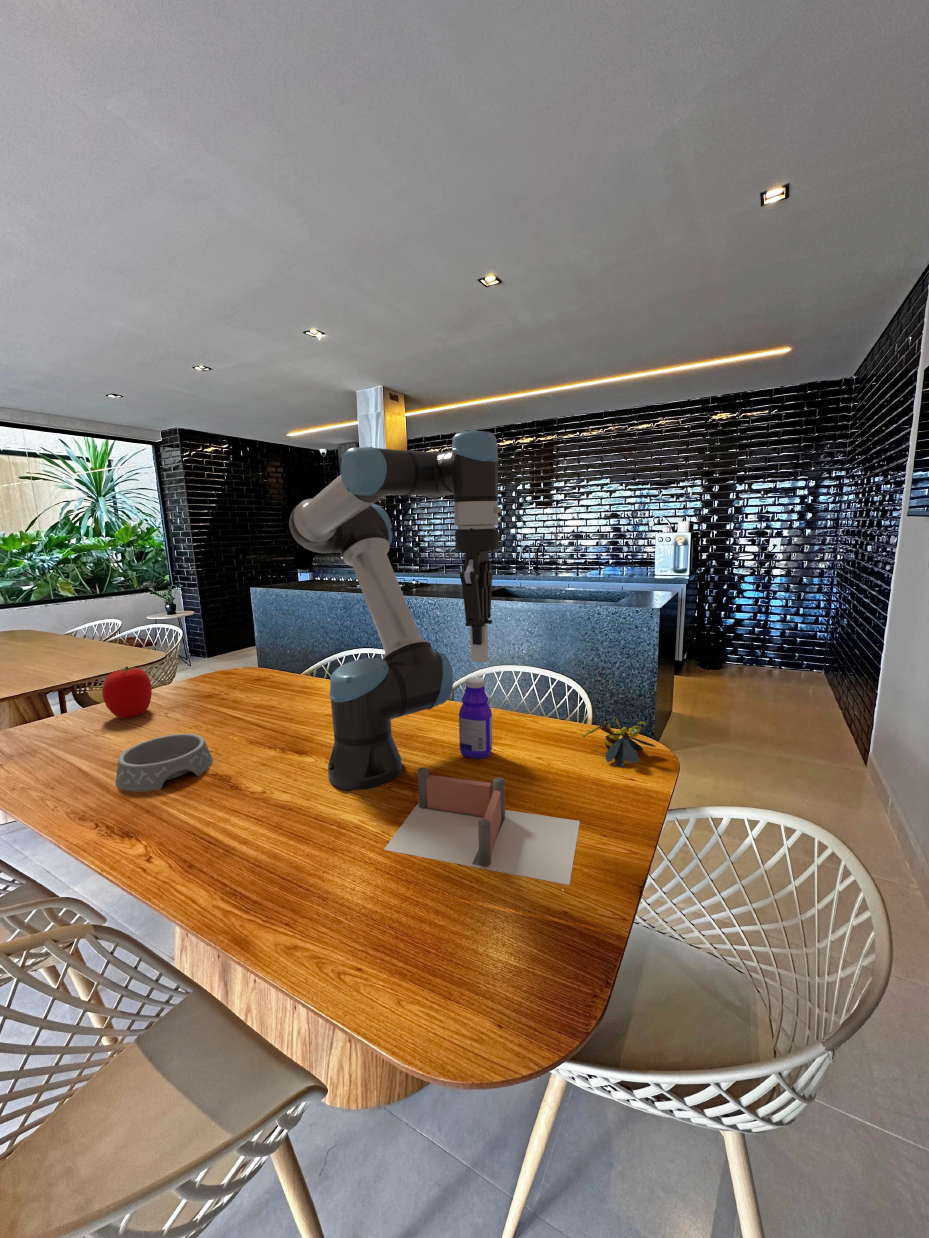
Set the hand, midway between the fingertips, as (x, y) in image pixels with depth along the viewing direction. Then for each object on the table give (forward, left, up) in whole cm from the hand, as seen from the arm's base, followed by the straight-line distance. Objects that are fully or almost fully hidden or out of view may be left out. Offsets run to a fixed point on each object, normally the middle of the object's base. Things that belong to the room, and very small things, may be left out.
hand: (479, 660), depth 91 cm
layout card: (+4, -13, -26) cm, 29 cm away
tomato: (-107, +15, -27) cm, 111 cm away
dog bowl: (-69, -8, -27) cm, 74 cm away
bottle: (-6, +16, -27) cm, 32 cm away
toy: (+23, +24, -27) cm, 43 cm away
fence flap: (+6, -14, -26) cm, 30 cm away
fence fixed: (-2, -7, -26) cm, 27 cm away
